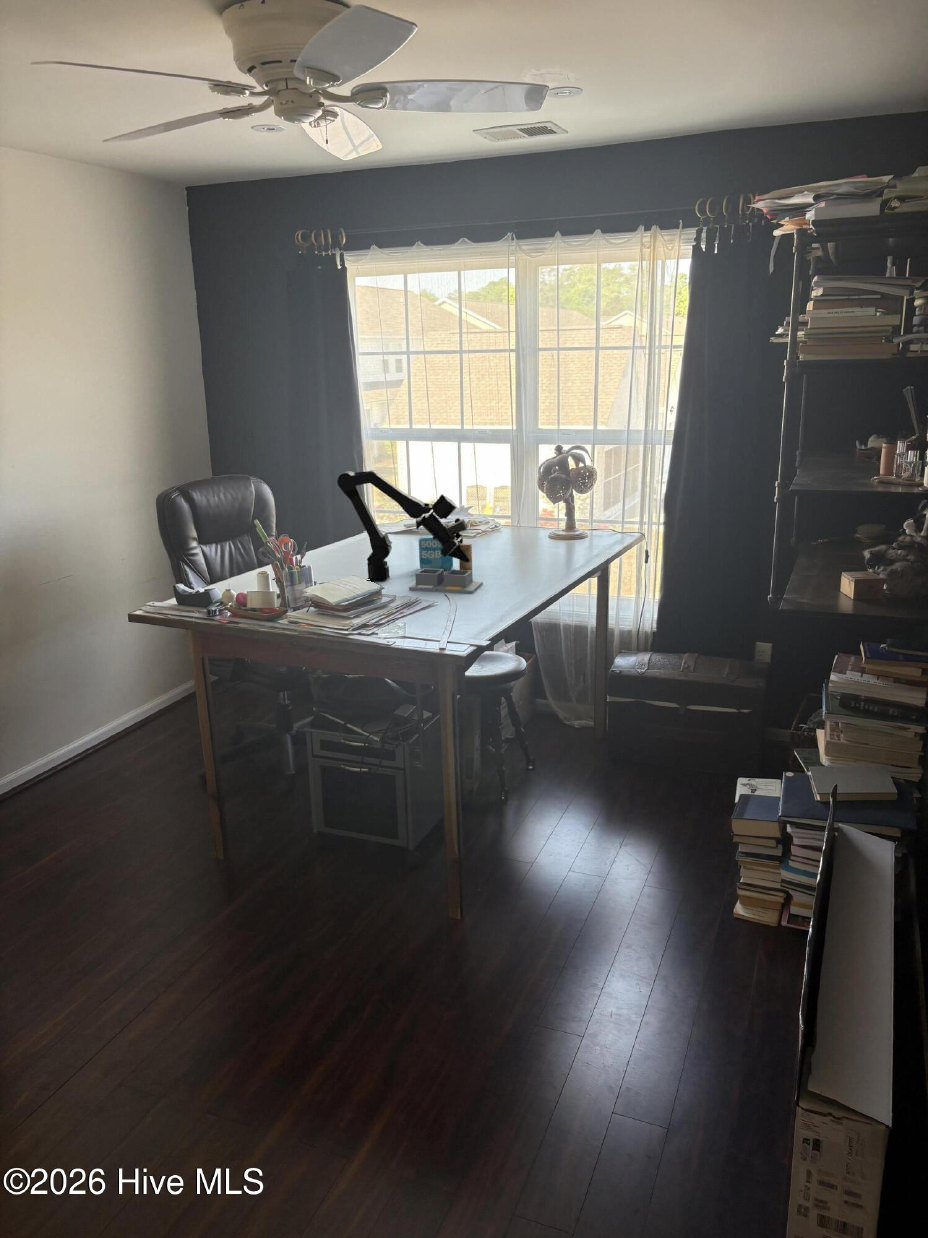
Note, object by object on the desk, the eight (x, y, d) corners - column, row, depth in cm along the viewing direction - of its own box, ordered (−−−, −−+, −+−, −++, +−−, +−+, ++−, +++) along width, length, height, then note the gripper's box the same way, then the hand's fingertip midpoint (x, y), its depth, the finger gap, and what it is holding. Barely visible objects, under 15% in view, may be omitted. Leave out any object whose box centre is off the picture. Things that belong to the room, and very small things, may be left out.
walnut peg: (458, 579, 309) (457, 545, 305) (462, 576, 313) (461, 543, 309) (470, 580, 307) (469, 546, 304) (474, 577, 311) (473, 543, 308)
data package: (420, 571, 323) (418, 538, 319) (419, 568, 327) (418, 535, 324) (453, 569, 324) (452, 536, 320) (452, 566, 328) (451, 534, 325)
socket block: (409, 590, 297) (408, 575, 295) (421, 581, 308) (420, 567, 306) (472, 593, 290) (472, 578, 289) (482, 584, 301) (482, 570, 300)
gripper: (449, 516, 295) (483, 549, 297) (456, 507, 313) (488, 538, 315) (426, 540, 298) (460, 572, 300) (434, 529, 316) (466, 560, 318)
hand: (469, 559), depth 308 cm, fingers closed on walnut peg, 4 cm apart
